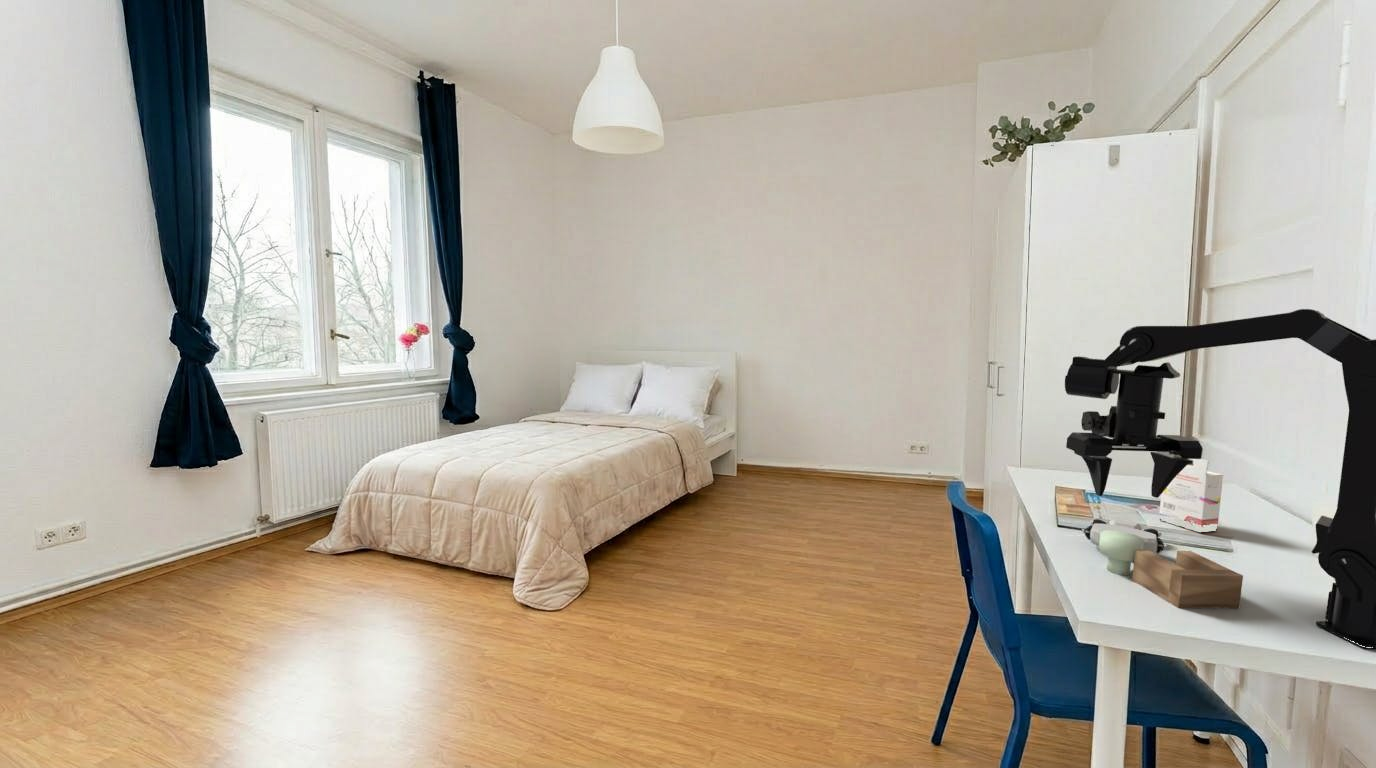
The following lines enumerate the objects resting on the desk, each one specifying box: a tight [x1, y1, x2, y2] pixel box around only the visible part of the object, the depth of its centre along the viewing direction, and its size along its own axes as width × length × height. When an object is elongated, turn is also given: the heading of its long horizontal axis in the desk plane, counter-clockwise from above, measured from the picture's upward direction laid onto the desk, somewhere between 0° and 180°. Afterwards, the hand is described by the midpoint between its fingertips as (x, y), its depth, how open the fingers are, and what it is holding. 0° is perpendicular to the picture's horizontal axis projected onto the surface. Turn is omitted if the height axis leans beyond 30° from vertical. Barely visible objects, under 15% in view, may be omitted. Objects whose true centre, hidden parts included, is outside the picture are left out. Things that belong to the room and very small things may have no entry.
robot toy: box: [1081, 518, 1167, 554], centre depth 116 cm, size 12×4×15 cm
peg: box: [1098, 530, 1144, 576], centre depth 105 cm, size 6×6×6 cm
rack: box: [1131, 550, 1244, 609], centre depth 97 cm, size 10×9×5 cm
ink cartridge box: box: [1159, 458, 1224, 526], centre depth 128 cm, size 9×5×15 cm, turn 17°
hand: (1126, 496), depth 104 cm, fingers open, 9 cm apart
